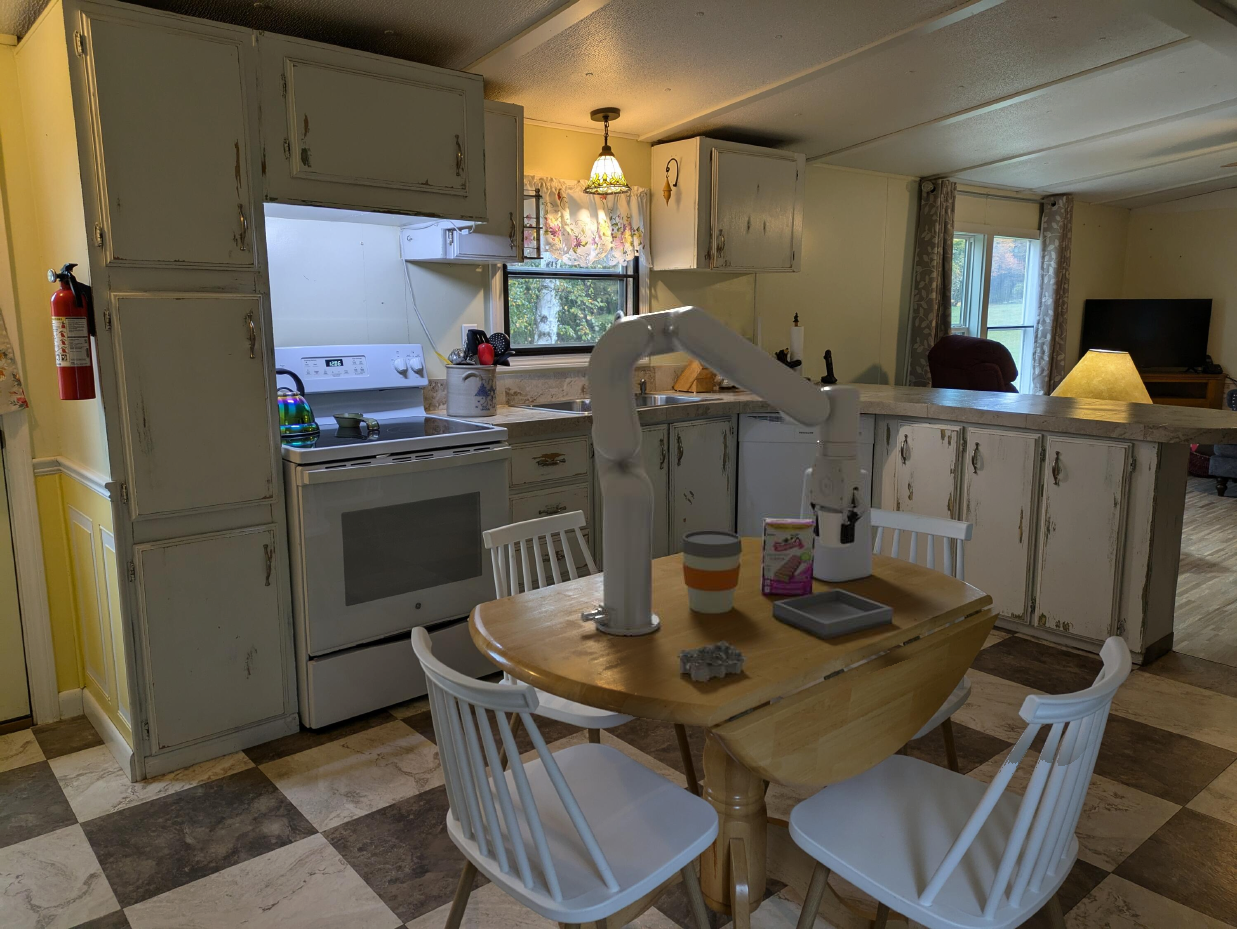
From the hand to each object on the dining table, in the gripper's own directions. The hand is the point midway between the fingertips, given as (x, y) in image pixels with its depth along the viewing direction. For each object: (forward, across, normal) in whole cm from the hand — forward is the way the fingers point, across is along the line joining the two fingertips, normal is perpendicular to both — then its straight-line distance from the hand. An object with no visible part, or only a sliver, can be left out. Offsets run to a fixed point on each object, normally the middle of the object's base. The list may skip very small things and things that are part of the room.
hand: (834, 538), depth 167 cm
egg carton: (+17, +8, -36) cm, 41 cm away
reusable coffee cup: (+17, -19, -16) cm, 30 cm away
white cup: (+1, 0, 0) cm, 1 cm away
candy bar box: (+17, -18, +4) cm, 25 cm away
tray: (+17, 0, 0) cm, 17 cm away
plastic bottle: (+17, -24, +24) cm, 38 cm away
